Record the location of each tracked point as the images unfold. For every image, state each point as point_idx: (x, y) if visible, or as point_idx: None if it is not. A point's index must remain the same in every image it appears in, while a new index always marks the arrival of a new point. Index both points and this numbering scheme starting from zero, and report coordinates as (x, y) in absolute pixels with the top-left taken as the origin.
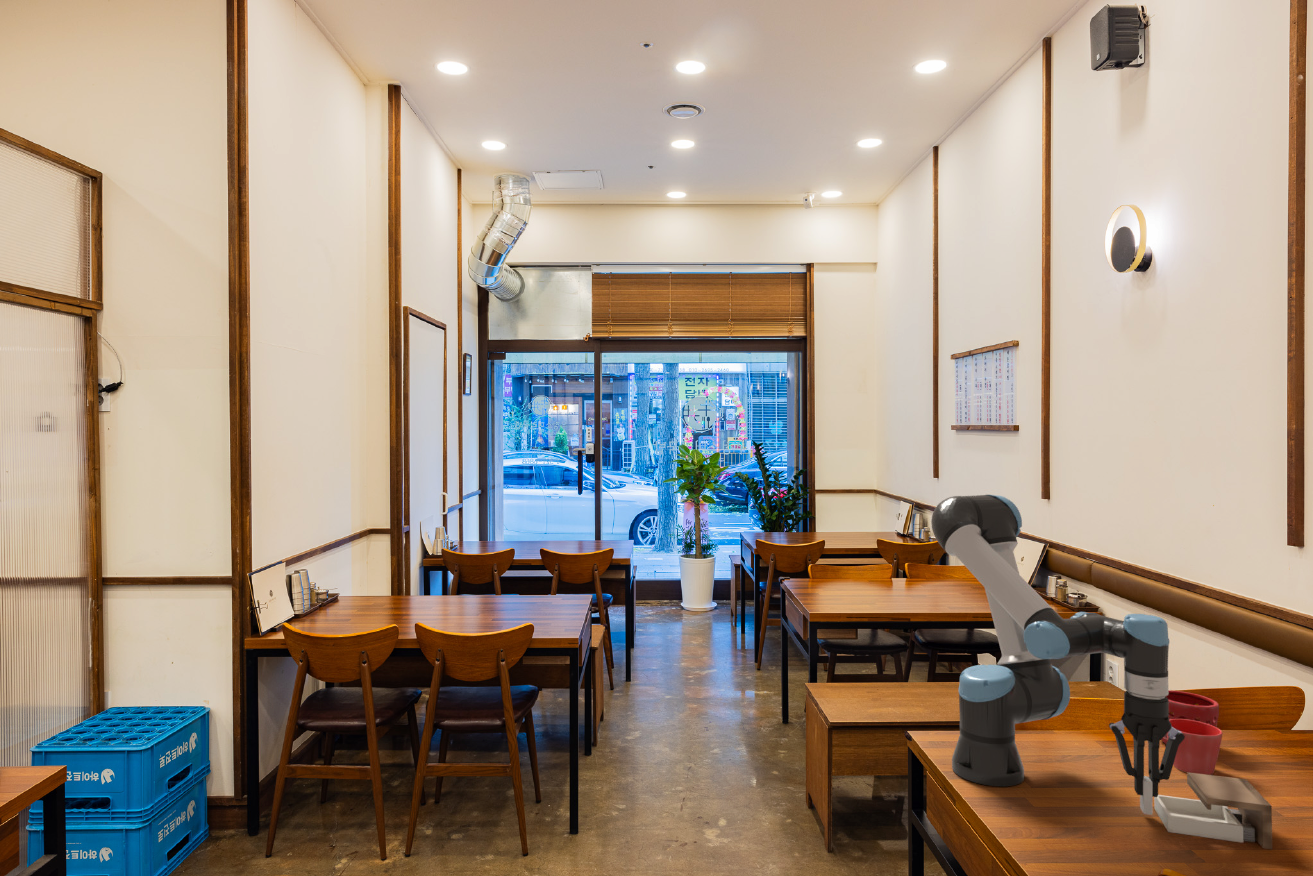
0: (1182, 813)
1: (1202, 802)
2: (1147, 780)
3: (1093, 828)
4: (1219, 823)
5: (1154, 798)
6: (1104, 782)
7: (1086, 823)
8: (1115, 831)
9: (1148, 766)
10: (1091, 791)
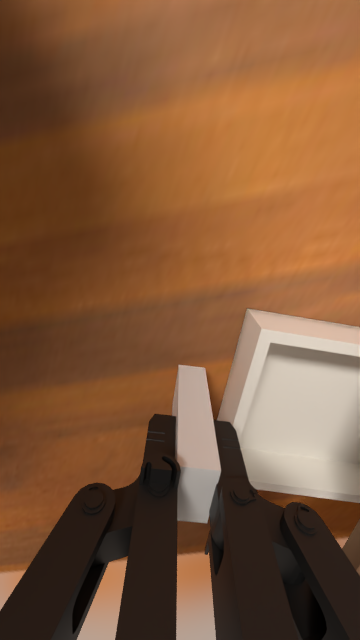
0: (316, 353)
1: (353, 533)
2: (190, 510)
3: (18, 452)
4: (350, 501)
5: (256, 325)
6: (147, 33)
7: (3, 431)
8: (71, 458)
9: (229, 547)
10: (58, 178)
